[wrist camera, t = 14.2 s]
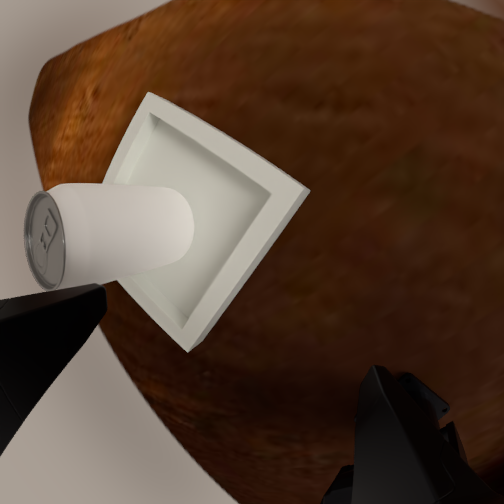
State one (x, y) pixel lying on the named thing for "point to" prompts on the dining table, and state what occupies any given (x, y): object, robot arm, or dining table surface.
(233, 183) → the tray
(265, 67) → the dining table surface
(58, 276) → the can
